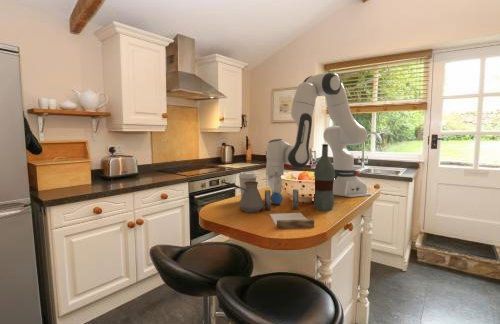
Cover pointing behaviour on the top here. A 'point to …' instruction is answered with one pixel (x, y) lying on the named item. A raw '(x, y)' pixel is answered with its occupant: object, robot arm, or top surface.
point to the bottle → (324, 182)
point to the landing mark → (286, 217)
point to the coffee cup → (246, 179)
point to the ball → (276, 198)
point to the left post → (267, 200)
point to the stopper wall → (295, 223)
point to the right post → (295, 199)
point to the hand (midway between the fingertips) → (274, 198)
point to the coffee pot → (249, 197)
